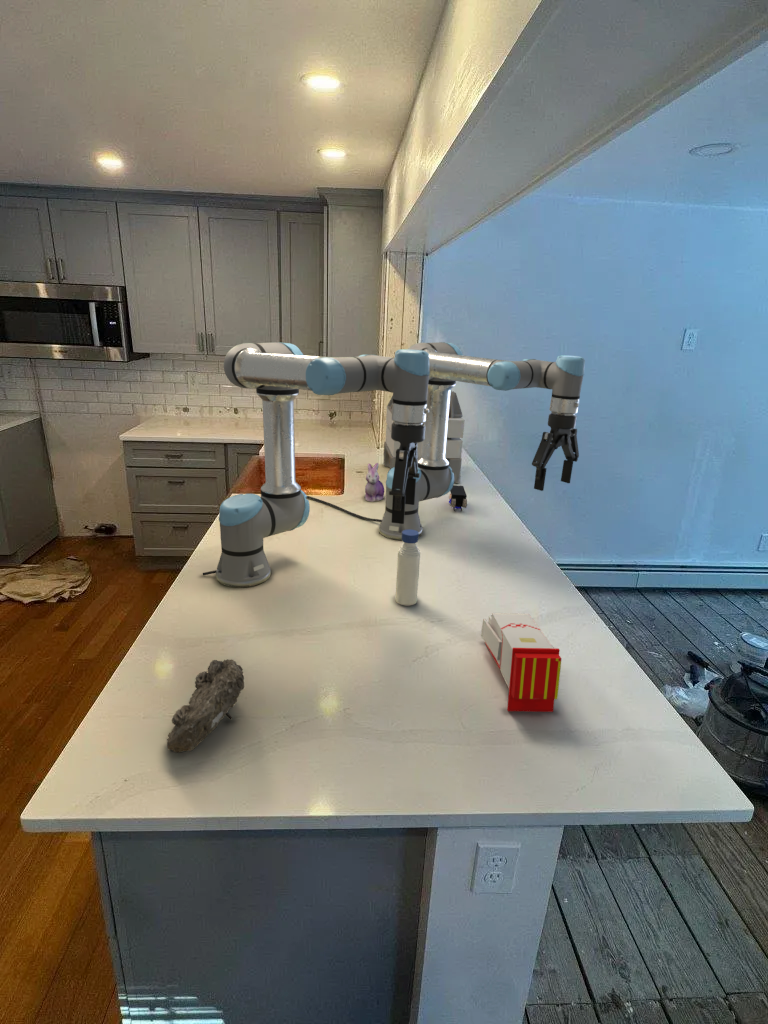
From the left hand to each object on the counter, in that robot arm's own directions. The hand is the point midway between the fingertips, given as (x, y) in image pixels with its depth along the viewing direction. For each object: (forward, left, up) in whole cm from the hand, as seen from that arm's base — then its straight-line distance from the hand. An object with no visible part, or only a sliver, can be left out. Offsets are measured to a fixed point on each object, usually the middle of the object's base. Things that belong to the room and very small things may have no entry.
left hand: (403, 513), depth 132 cm
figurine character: (+4, +96, -30) cm, 100 cm away
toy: (+29, -11, -30) cm, 43 cm away
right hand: (+36, +43, -2) cm, 56 cm away
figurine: (-30, +94, -30) cm, 104 cm away
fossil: (-27, -43, -30) cm, 59 cm away
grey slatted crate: (-19, +140, -30) cm, 144 cm away
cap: (0, +13, -10) cm, 17 cm away
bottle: (0, +13, -30) cm, 33 cm away
